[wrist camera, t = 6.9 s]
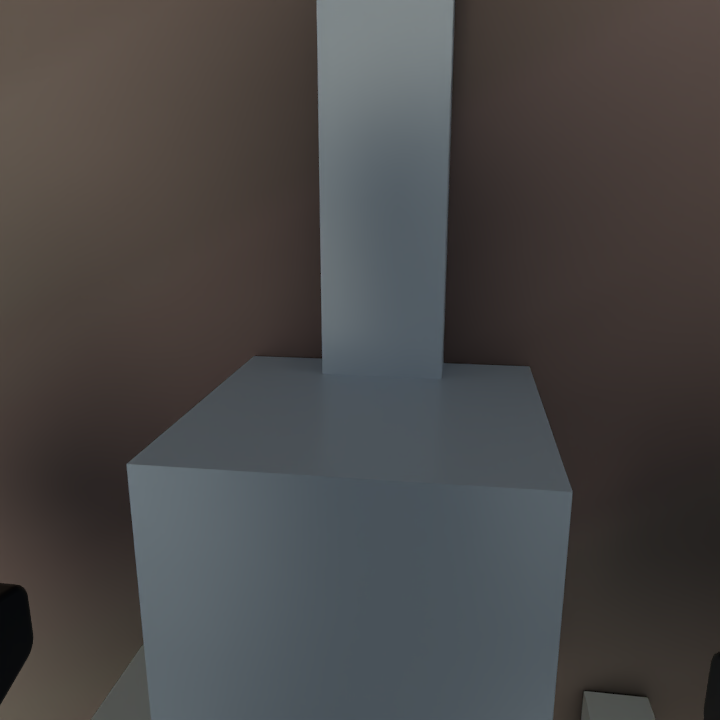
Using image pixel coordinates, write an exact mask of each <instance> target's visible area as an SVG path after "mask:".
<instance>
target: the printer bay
mask: <svg viewBox="0 0 720 720" xmlns="http://www.w3.org/2000/svg"><path fill="white" fill-rule="evenodd" d="M91 720H151V714H150V703H149V693H148V682H147V672H146V662H145V651H144V645H142V646H141V648H140V649H139V651H138V652H137V654H136V655H135V656H134V658H133V659H132V661H131V662H130V664H129V665H128V667H127V668H126V669H125V671H124V672H123V674H122V675H121V677H120V678H119V680H118V681H117V682H116V684H115V685H114V687H113V688H112V690H111V691H110V693H109V694H108V695H107V697H106V698H105V700H104V701H103V703H102V704H101V706H100V707H99V708H98V710H97V711H96V713H95V714H94V716H93V717H92V719H91ZM581 720H656V719H655V716H654V714H653V711H652V708H651V705H650V702H649V700H648V698H647V697H637V696H628V695H618V694H609V693H599V692H589V691H584V694H583V704H582V714H581Z"/></svg>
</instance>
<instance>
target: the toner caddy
mask: <svg viewBox="0 0 720 720" xmlns="http://www.w3.org/2000/svg"><path fill="white" fill-rule="evenodd" d="M454 20H455V0H317V57H318V121H319V186H320V250H321V315H322V359H321V358H294V357H268V356H253V357H252V358H251V359H250V360H249V361H247V362H246V363H245V364H244V365H243V366H242V367H240V368H239V369H238V370H237V371H236V372H234V373H233V374H232V375H231V376H230V377H229V378H227V379H226V380H225V381H224V382H223V383H221V384H220V385H219V386H218V387H217V388H216V389H214V390H213V391H212V392H211V393H210V394H208V395H207V396H206V397H205V398H204V399H203V400H201V401H200V402H199V403H198V404H197V405H196V406H194V407H193V408H192V409H191V410H190V411H188V412H187V413H186V414H185V415H184V416H183V417H181V418H180V419H179V420H178V421H177V422H175V423H174V424H173V425H172V426H171V427H170V428H168V429H167V430H166V431H165V432H164V433H162V434H161V435H160V436H159V437H158V438H157V439H155V440H154V441H153V442H152V443H151V444H149V445H148V446H147V447H146V448H145V449H144V450H142V451H141V452H140V453H139V454H138V455H137V456H135V457H134V458H133V459H132V460H131V461H129V462H128V463H127V475H128V485H129V496H130V506H131V516H132V527H133V537H134V547H135V558H136V568H137V579H138V589H139V599H140V610H141V620H142V631H143V641H144V651H145V662H146V672H147V682H148V693H149V703H150V714H151V720H553V711H554V699H555V688H556V676H557V665H558V653H559V642H560V631H561V619H562V608H563V596H564V585H565V573H566V562H567V550H568V539H569V528H570V516H571V505H572V493H573V492H572V489H571V486H570V483H569V480H568V477H567V474H566V471H565V468H564V465H563V463H562V460H561V457H560V454H559V451H558V448H557V445H556V442H555V439H554V436H553V433H552V430H551V428H550V425H549V422H548V419H547V416H546V413H545V410H544V407H543V404H542V401H541V398H540V396H539V393H538V390H537V387H536V384H535V381H534V378H533V375H532V372H531V369H530V366H506V365H480V364H453V363H443V362H444V331H445V299H446V268H447V237H448V206H449V175H450V144H451V113H452V82H453V51H454Z"/></svg>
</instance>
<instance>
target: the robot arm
mask: <svg viewBox="0 0 720 720" xmlns="http://www.w3.org/2000/svg"><path fill="white" fill-rule="evenodd" d="M32 644H33V630H32V623H31V616H30V609H29V601H28V595H27V592H26V590H25V589H24V588H23V587H22V586H20V585H14V584H4V583H0V704H1V703H2V701H3V699H4V698H5V696H6V694H7V692H8V691H9V689H10V687H11V685H12V684H13V682H14V680H15V679H16V677H17V675H18V673H19V672H20V670H21V668H22V667H23V665H24V663H25V661H26V660H27V658H28V656H29V654H30V651H31V648H32ZM704 720H720V652H718V653H716V654H715V655H714V656H713V659H712V661H711V666H710V672H709V679H708V685H707V692H706V698H705V704H704Z"/></svg>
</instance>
